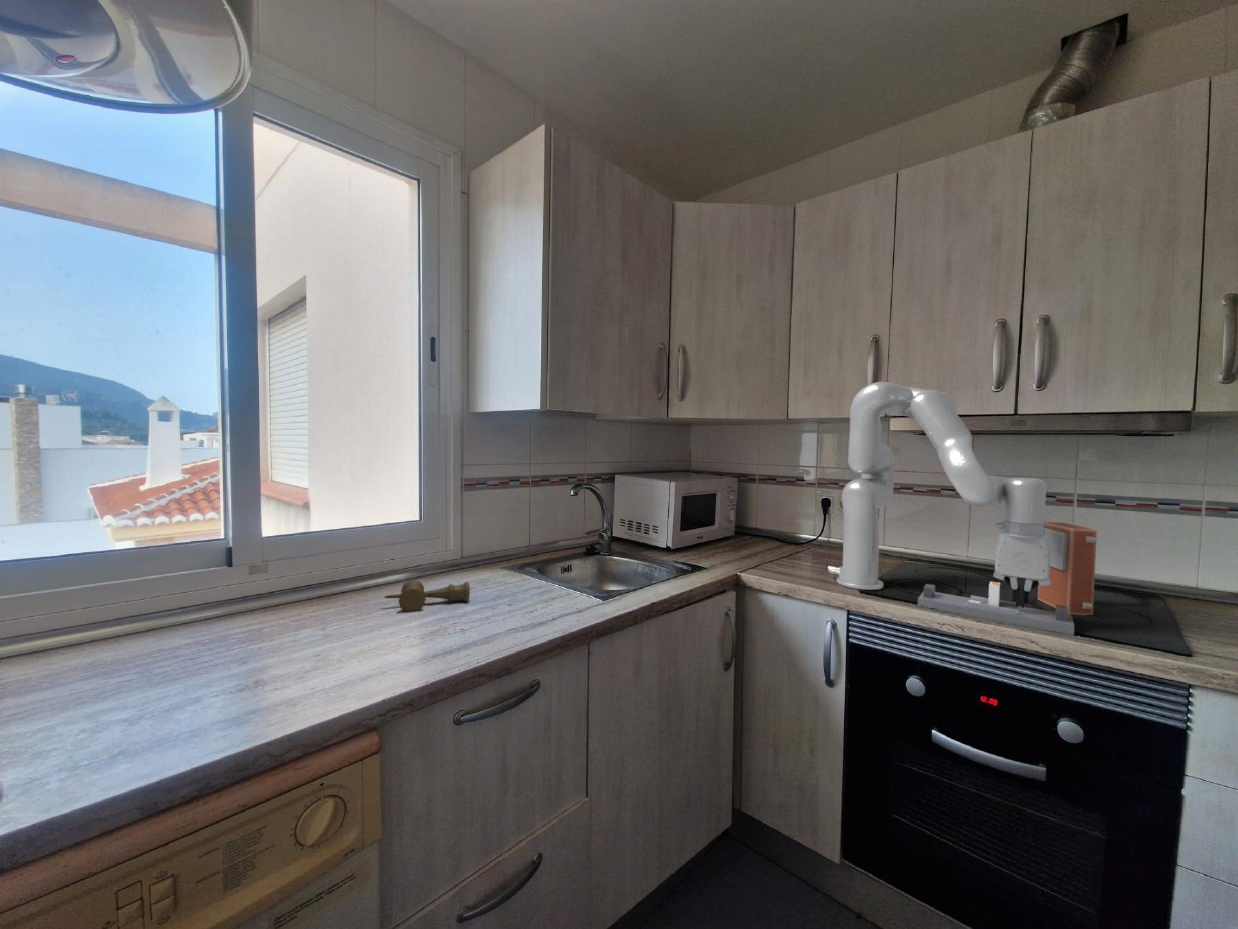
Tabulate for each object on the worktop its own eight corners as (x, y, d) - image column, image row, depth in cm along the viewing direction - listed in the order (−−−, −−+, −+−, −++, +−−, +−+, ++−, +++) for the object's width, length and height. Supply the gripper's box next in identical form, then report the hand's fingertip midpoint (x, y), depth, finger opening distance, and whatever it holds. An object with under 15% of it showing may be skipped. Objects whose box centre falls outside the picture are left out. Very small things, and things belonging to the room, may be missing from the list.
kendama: (471, 608, 125) (382, 615, 118) (467, 598, 134) (385, 604, 127) (471, 584, 125) (383, 589, 118) (468, 576, 134) (385, 580, 127)
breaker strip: (917, 606, 130) (918, 588, 130) (924, 597, 137) (924, 581, 137) (1073, 635, 111) (1074, 615, 110) (1071, 623, 118) (1072, 604, 118)
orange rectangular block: (1059, 599, 137) (1100, 618, 122) (1030, 598, 138) (1067, 615, 124) (1063, 521, 136) (1104, 530, 122) (1033, 520, 138) (1071, 529, 123)
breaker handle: (988, 606, 123) (989, 584, 122) (989, 602, 126) (990, 580, 126) (998, 608, 121) (999, 585, 121) (999, 604, 125) (1000, 582, 124)
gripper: (983, 527, 122) (980, 602, 122) (1066, 535, 112) (1062, 616, 113) (985, 524, 127) (982, 596, 128) (1064, 531, 118) (1060, 608, 118)
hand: (1020, 605), depth 120 cm, fingers closed
